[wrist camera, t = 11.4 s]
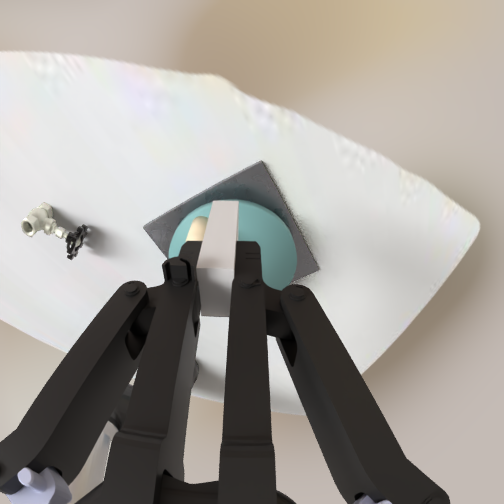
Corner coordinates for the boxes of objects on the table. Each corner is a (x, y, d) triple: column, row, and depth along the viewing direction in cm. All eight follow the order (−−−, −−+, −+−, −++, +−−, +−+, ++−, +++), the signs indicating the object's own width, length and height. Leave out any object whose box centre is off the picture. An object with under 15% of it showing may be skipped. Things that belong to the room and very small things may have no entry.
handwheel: (315, 273, 50) (322, 301, 44) (217, 317, 55) (214, 345, 49) (255, 174, 40) (256, 193, 34) (147, 239, 46) (133, 264, 40)
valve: (36, 219, 46) (83, 246, 50) (18, 237, 41) (68, 267, 45) (41, 192, 43) (91, 220, 47) (21, 208, 38) (74, 239, 42)
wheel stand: (317, 267, 53) (320, 276, 51) (214, 310, 58) (212, 320, 56) (261, 160, 42) (262, 165, 40) (144, 225, 48) (139, 233, 46)
